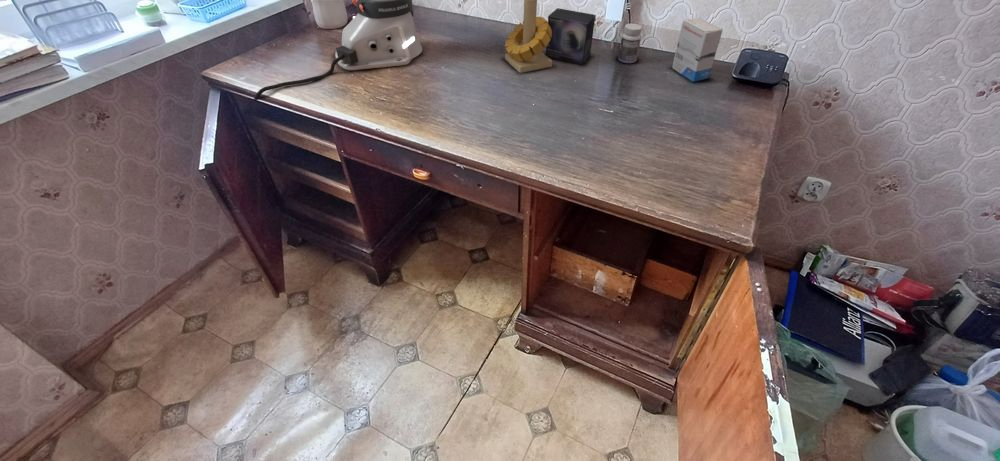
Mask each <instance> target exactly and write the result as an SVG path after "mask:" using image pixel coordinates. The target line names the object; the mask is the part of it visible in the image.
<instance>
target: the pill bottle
mask: <svg viewBox="0 0 1000 461" xmlns="http://www.w3.org/2000/svg"><path fill="white" fill-rule="evenodd" d="M642 28H643V27H642V26H641V25H640V24H638V23H627V24H625V26H624V29H623V33H622V35H621V40H620V45H619V51H618V55H617V56H618V57H617V58H618V61H620V62H621V63H624V64H633V63H636V62H637V60H638V56H639V51H640V46H641V40H642V34H641V32H642Z"/></svg>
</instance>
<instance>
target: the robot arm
mask: <svg viewBox="0 0 1000 461" xmlns="http://www.w3.org/2000/svg"><path fill="white" fill-rule="evenodd" d="M351 2H352V4H353V5H354V6H356V9H357V14H356V15H355V16H352V20H350V22H349V23H347V24H346V25H345V26H344V28H343V30H342V32H341V46H338V47H336V48H335V53H334V56H335V59H334V60H333V61H332V62H331V63H330V69H329V70H328V71H327V72H325V73H324V74H321V75H317V76H311V77H307V78H303V79H297V80H290V81H284V82H279V83H276V84H272V85H267V86H264V87H261V88H259V90H258V91H257V92H256V94H255V95H254V98H253V101H258V100H259V98H260V97H261V96H262V94H264V93H265V92H267V91H270V90H271V91H272V90H276V89H279V88H282V87H283V88H284V87H287V86H295V85H303V84H307V83H310V82H314V81H319V80H322V79H325V78H327V77H329V76H330V75H332V74H333V72H334V71H335V67H336V65H337V64H338V65H339V67H341V68H342V69H344V70H347V71H360V70H369V69H379V68H387V67H399V66H406V65H408V64H410V63H411V61H412V60H413V59H415V58H417V57H418V56H420V54H421V53H422V52H423V47H422V44H421V42H420V38H419V36H418V33H417V30H416V25H415V21H414V4H413V3H414V2H413V0H351Z"/></svg>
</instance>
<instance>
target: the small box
mask: <svg viewBox="0 0 1000 461" xmlns="http://www.w3.org/2000/svg"><path fill="white" fill-rule="evenodd" d="M596 18H597V15H596V14H592V13H588V12H582V11H575V10H570V9H565V8H559V7H558V8H555V9H554V10H553V11H552V12H551V13H550V14H549V15H547V22H548V24H549V26H550V27H551V30H552V37H551V38H550V39H551V40H550V42H549V43H548V45H547V47H545V55H546V56H547V57H548V58H550V59H556V60H559V61H564V62H570V63H572V64H573V63H574V64H577V65H584V64H585V63H586V62H587V61H588V59H589V58H590V57H591V55H592V54H591V52H592V44H593V37H594V28H595V23H596Z"/></svg>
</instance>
